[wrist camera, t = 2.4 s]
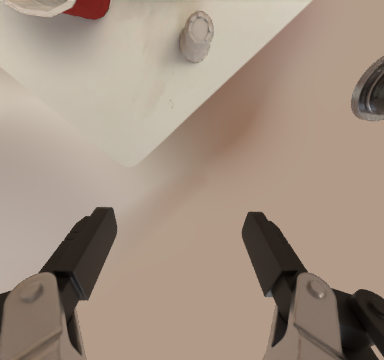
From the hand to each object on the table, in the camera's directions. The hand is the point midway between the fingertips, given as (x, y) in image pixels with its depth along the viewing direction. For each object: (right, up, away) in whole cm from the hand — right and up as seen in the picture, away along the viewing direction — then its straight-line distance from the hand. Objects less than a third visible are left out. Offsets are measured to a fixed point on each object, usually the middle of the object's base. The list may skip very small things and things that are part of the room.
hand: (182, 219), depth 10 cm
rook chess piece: (+1, +23, +15) cm, 27 cm away
